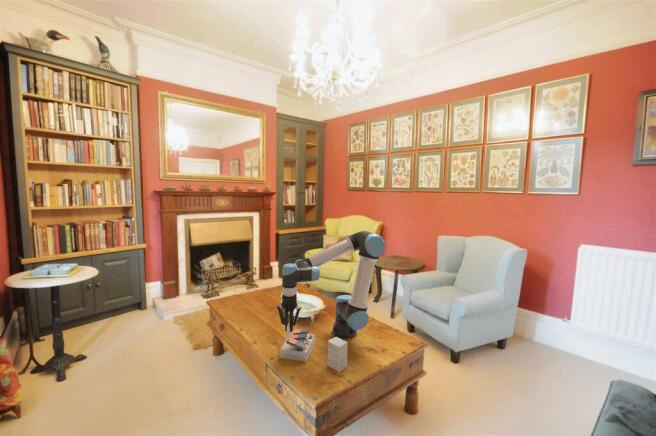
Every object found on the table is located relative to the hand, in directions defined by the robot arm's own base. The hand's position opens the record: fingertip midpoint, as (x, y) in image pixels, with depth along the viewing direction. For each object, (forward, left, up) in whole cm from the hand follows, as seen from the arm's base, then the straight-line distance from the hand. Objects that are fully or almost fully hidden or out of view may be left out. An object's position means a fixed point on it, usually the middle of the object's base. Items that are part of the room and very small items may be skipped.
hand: (288, 337), depth 153 cm
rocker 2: (-3, -6, -4) cm, 8 cm away
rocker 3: (-3, 0, -4) cm, 5 cm away
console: (-3, -6, -10) cm, 12 cm away
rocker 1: (-3, -12, -4) cm, 13 cm away
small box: (-26, +3, -11) cm, 29 cm away
